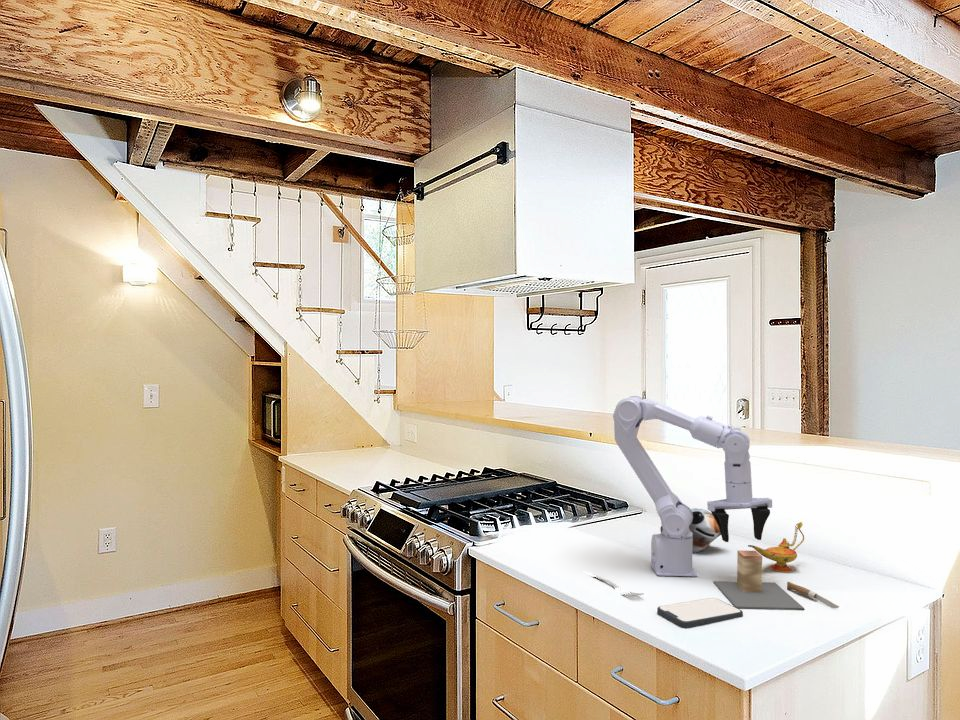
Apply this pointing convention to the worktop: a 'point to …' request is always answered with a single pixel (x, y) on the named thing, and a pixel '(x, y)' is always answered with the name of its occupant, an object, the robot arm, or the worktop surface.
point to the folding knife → (810, 594)
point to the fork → (618, 587)
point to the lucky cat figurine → (702, 529)
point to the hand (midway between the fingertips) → (741, 539)
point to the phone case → (699, 612)
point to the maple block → (749, 571)
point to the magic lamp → (781, 553)
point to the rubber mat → (758, 597)
